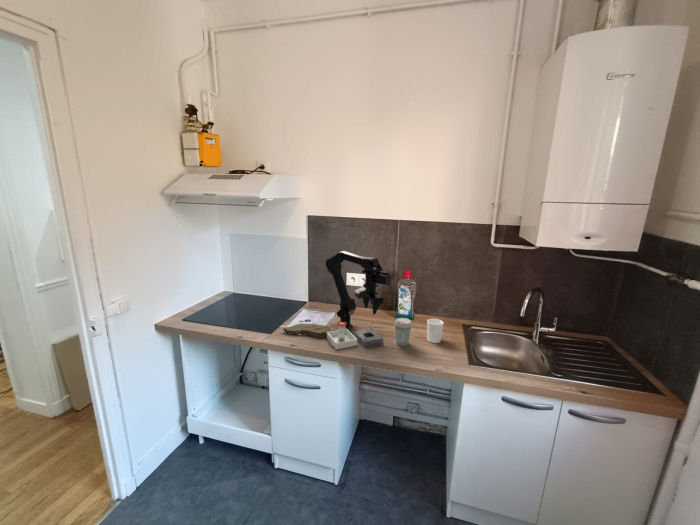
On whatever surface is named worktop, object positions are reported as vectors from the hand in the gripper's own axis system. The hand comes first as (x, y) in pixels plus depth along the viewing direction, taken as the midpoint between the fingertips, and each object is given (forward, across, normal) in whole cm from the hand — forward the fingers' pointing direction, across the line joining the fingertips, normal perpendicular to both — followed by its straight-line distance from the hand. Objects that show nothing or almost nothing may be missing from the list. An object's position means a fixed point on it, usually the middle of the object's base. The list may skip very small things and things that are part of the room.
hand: (369, 311), depth 159 cm
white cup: (+13, +19, +27) cm, 35 cm away
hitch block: (+12, +7, -4) cm, 15 cm away
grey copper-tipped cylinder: (+12, +3, -17) cm, 21 cm away
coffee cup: (+13, +16, +10) cm, 23 cm away
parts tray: (+12, +3, -17) cm, 21 cm away
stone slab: (+13, -14, -30) cm, 35 cm away
